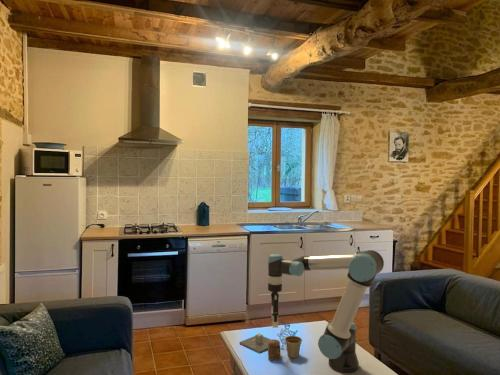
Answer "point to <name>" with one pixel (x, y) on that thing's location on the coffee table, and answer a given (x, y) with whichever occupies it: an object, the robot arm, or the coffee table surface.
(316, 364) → the coffee table surface
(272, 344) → the knob
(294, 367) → the coffee table surface
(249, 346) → the post plate
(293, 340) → the flower pot
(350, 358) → the robot arm
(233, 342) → the coffee table surface
